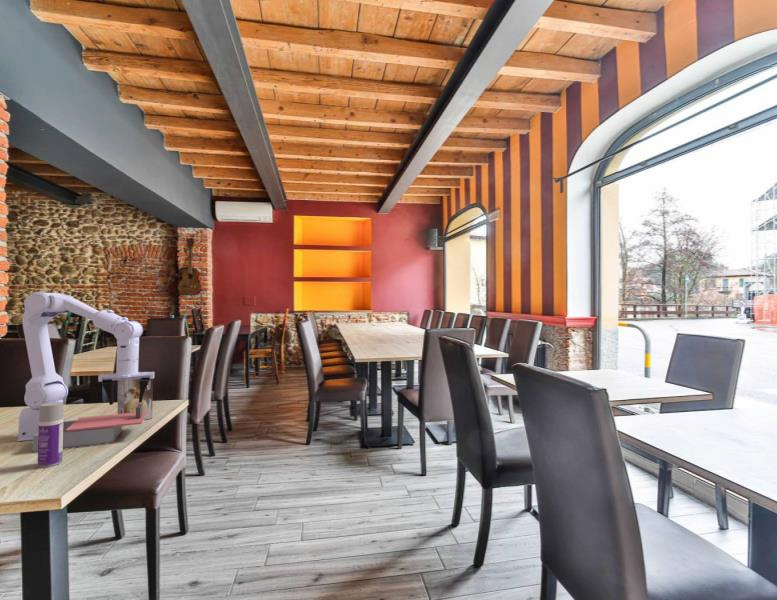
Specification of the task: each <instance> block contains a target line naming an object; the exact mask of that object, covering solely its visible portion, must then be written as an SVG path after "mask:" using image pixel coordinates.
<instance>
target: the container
mask: <svg viewBox="0 0 777 600" xmlns="http://www.w3.org/2000/svg"><path fill="white" fill-rule="evenodd" d="M63 421H64V401H63V402H50V403H45V404H41V405H40V414H39V433H38V452H37V468H39V467H46V468H50V467H49V466H52V467H55V466H58V465H60V464H62V463H63V451H64V449H63ZM61 462H62V463H61ZM59 463H60V464H59ZM57 464H58V465H57ZM54 465H55V466H54Z"/></svg>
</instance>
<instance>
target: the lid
mask: <svg viewBox="0 0 777 600" xmlns="http://www.w3.org/2000/svg"><path fill="white" fill-rule="evenodd" d="M142 411H143V404H138V405H137V407H136V412H135V413H124V414H117V413H115V414H104V415H93V416H82V417H78V419H76V420H77V421H75V422H74V423H73V424H72V425H71V426H70V427H68V428H67V429H66V432H68V431H78V430H87V429H97V428H107V427H116V426H122V427H125V426H133V425H142V424H143V422H144V421H145V420H144V418H145V416H146V415H147V411H145V412H142Z"/></svg>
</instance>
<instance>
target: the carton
mask: <svg viewBox="0 0 777 600" xmlns="http://www.w3.org/2000/svg"><path fill="white" fill-rule="evenodd" d="M77 420H78V419H76V420H73V419H72V420H63V450H65V448H68V449H73V448H72V447H76V448H80V447H79V446H84V447H90V445H93V446H98V445H97V444H101V445H106V444H105V443H110V444H114V442H115V441H114V440H116V439H117V437H118V436H119V435H120V433H121V432H122V430H123V426H116V427H107V428H97V429H87V430H78V431H68V432H66V429H67V428H68V427H70V426H71V425H72V424H73V423H74V422H75V421H77ZM38 433H39V432H38ZM38 433H36V434H35V435H34V436H33V440H32V453H38Z"/></svg>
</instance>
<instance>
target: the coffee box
mask: <svg viewBox="0 0 777 600" xmlns="http://www.w3.org/2000/svg"><path fill="white" fill-rule="evenodd" d="M128 378H135V377H128ZM140 380H141V379H132V380H117V413H116V414H124V413H135V412H136V407H137V405H138V404H143V411H142V412H145V411H147V415H146V416H145V418H144V420H143V421H145V420H151V419H153V412H154V411H153V410H154V409H153V388H154V387H153V381H154V380H153V379H150V381H149V383H148V385H147V387H146V390H145V392H144V396H143V401H142V402H141V403H139V395H140Z"/></svg>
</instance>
